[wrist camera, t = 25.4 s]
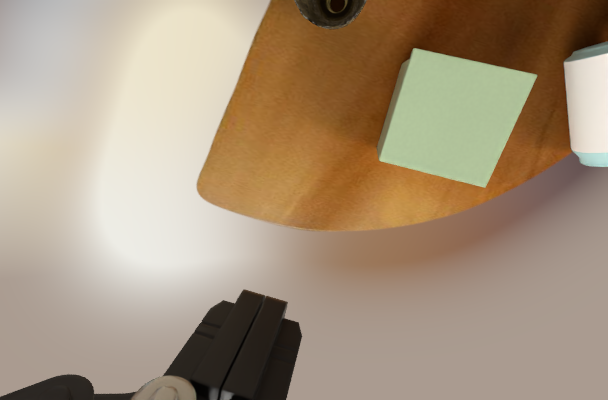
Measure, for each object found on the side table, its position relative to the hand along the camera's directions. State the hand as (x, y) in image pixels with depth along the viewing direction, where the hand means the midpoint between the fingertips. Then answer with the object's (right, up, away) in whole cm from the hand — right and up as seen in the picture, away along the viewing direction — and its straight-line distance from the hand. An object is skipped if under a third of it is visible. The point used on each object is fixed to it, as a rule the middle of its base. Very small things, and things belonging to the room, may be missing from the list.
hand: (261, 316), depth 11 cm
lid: (+17, +12, +23) cm, 31 cm away
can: (+31, +20, +21) cm, 43 cm away
